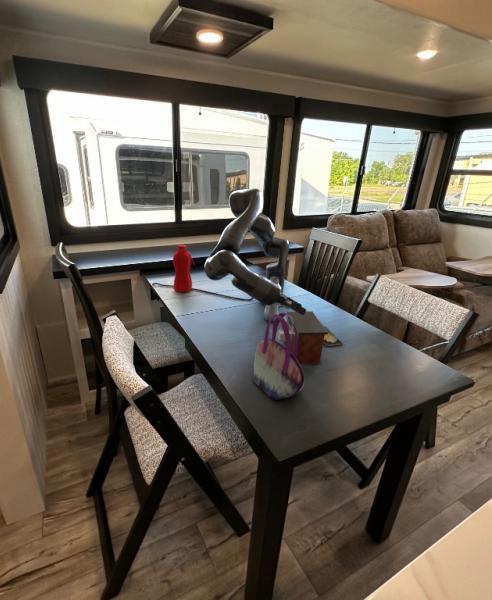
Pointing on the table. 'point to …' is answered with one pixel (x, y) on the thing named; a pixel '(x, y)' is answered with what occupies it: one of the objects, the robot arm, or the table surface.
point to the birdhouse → (307, 336)
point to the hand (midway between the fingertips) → (296, 309)
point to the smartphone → (331, 339)
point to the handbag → (278, 363)
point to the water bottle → (182, 269)
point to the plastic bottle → (272, 308)
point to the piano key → (282, 336)
